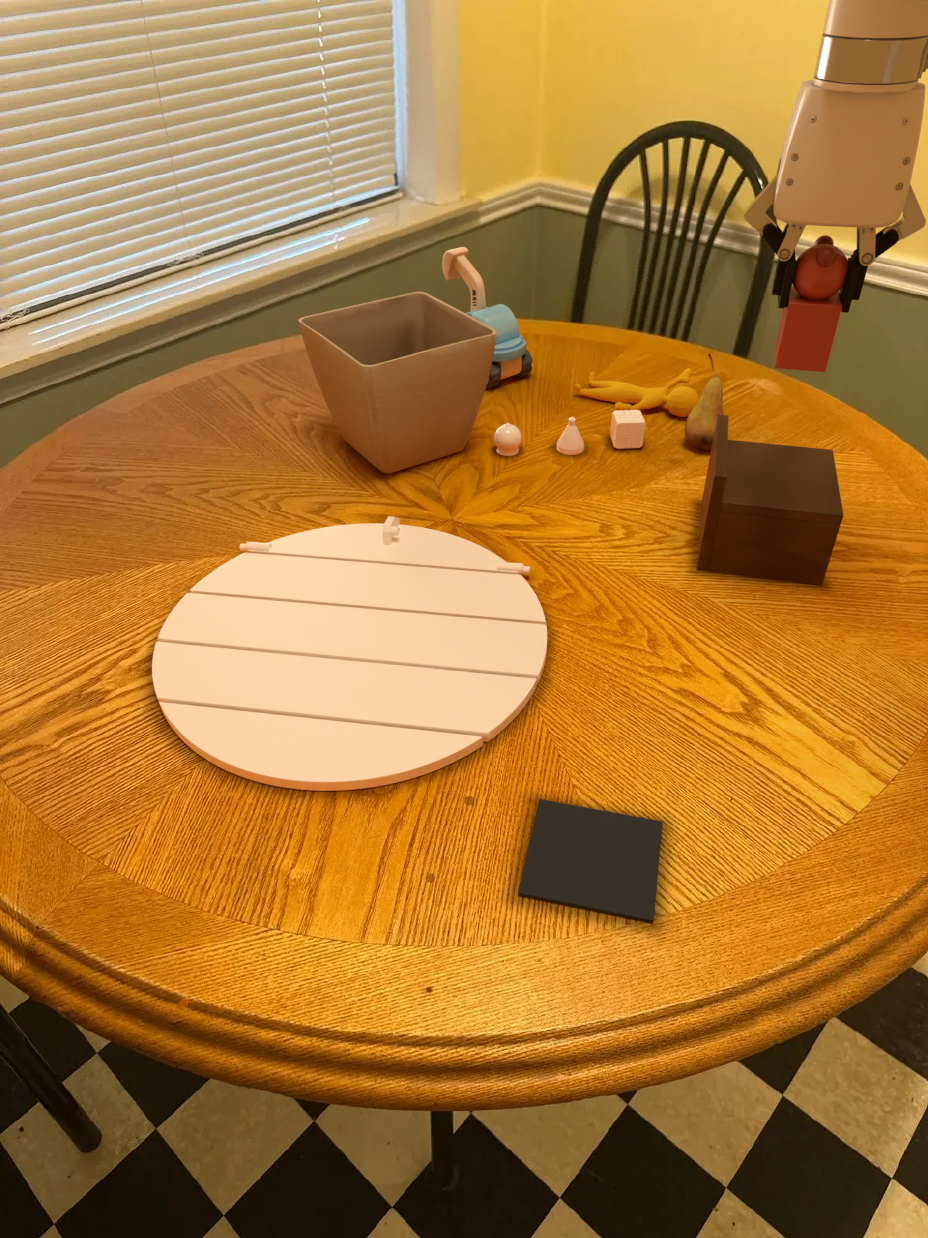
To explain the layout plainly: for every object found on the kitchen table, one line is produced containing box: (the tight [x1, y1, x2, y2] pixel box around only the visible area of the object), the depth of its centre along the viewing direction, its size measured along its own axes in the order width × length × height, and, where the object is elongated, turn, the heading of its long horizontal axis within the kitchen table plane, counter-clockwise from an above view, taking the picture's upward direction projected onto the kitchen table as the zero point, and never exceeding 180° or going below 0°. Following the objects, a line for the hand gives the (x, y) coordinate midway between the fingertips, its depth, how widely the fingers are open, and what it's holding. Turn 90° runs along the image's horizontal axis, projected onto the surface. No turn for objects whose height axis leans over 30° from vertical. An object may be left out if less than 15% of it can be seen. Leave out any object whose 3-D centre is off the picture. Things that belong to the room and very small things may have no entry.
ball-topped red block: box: [773, 234, 849, 373], centre depth 77 cm, size 5×5×11 cm
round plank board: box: [151, 515, 548, 792], centre depth 87 cm, size 40×39×3 cm
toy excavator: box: [441, 246, 534, 389], centre depth 133 cm, size 9×17×17 cm, turn 34°
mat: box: [517, 798, 663, 924], centre depth 67 cm, size 10×9×1 cm
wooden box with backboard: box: [696, 414, 844, 587], centre depth 95 cm, size 13×14×12 cm
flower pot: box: [297, 290, 497, 474], centre depth 114 cm, size 19×19×17 cm
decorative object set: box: [493, 409, 646, 457], centre depth 116 cm, size 5×20×4 cm, turn 92°
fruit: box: [684, 353, 725, 451], centre depth 113 cm, size 6×6×12 cm
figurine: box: [574, 367, 699, 418], centre depth 126 cm, size 14×5×18 cm
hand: (812, 302), depth 77 cm, fingers closed on ball-topped red block, 4 cm apart
